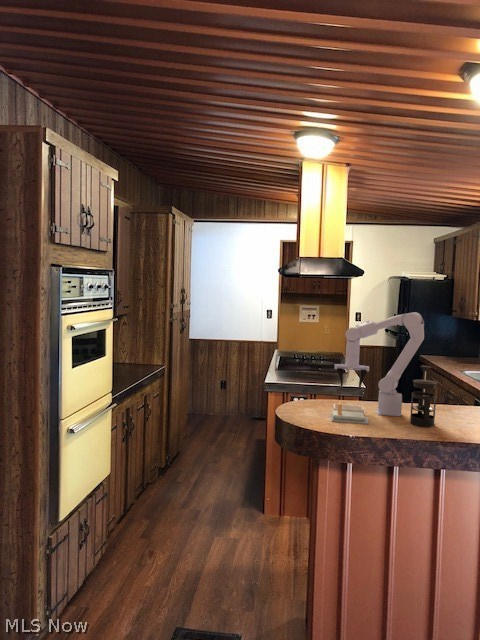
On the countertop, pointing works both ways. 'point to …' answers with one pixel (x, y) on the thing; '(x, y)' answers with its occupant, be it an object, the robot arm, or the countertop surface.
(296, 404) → the countertop surface
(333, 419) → the mat
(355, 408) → the tub
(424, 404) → the french press
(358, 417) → the lid
